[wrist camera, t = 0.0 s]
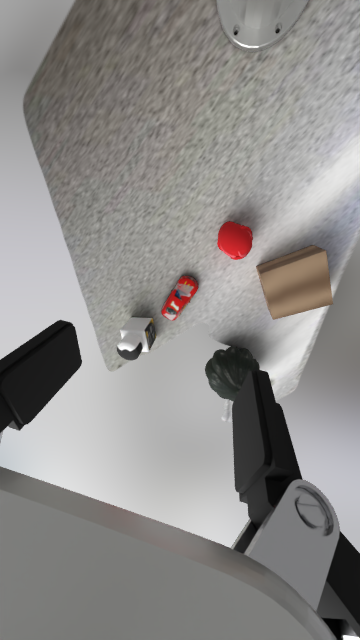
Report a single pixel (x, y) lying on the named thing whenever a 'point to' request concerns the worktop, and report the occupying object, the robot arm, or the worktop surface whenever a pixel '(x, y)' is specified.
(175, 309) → the race car
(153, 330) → the medicine bottle
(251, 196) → the worktop surface
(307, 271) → the walnut block
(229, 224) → the red rounded piece
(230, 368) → the squash
